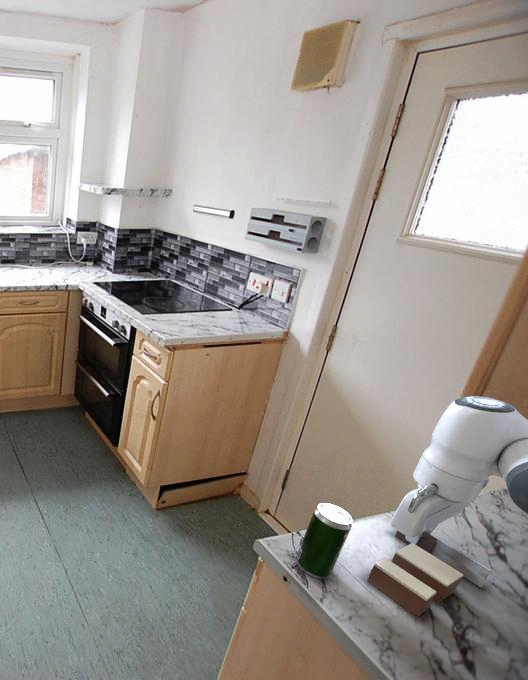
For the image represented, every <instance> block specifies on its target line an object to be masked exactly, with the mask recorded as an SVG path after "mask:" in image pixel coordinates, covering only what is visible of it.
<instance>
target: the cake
mask: <svg viewBox="0 0 528 680" xmlns="http://www.w3.org/2000/svg"><path fill="white" fill-rule="evenodd" d="M390 561H391V562H392V563H394V564H395V565H397V566H398V567H400V568H401V569H403V570H404V571H406V572H407V573H409V574H410V575H412V576H414V577H415V578H417V579H418V580H420V581H421V582H423V583H424V584H426V585H427V586H429V587H430V588H432V589H433V590H435V591H436V594H435V596H434V598H433V600H432V601H434V602H436V603H437V604H439V603H440V602H442V601H443V600H445V599H446V598H448V597H449V596H451V595H452V594H453V593H455V591H456V589H457V588H458V586H459V584H460V583H461V580H462V579H463V578H464V576H463V574H462V573H460V572H459V571H457V570H455V569H454V568H452V567H451V566H449V565H447V564H446V563H444V562H442V561H441V560H439V559H438V558H436V557H434V556H433V555H431V554H430V553H428V552H426V551H425V550H423V549H422V548H420V547H418V546H417V545H415V544H414V543H411V544H409V545H408V544H407V545H406V546H404V547H402V548H400V549H398V550H396V552H395V553H394V555H393V557H392V559H391V560H390Z"/></svg>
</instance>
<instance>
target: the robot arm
mask: <svg viewBox="0 0 528 680" xmlns="http://www.w3.org/2000/svg"><path fill="white" fill-rule="evenodd" d="M492 476H496V477H499V478H502V479H503V480H504V482H505V485H506V488H507V491H508V495H509V497H510V499H511V500H512V502H513V503H514V504H515V506H517V508H518V509H520V510H521V511H522V512H524V513H526V514H527V515H528V418H526V417H525V416H524V415H522V414H521V412H519V411H518V410H517V408H516V407H515V406H514V405H512V404H510V403H508V402H506V401H502V400H499V399H496V398H492V397H486V396H478V395H477V396H475V395H469V396H462V397H458V398H457V399H455V400H453V401H452V402H451V403H450V404H448V406H447V407H446V409H445V410H444V412H443V413H442V415H441V416H440V418H439V420H438V421H437V423H436V425H435V427H434V429H433V431H432V434H431V442H430V444H429V446H428V447H427V448H425V450H424V451H423V452H422V454H421V457H420V458H419V461H418V463H417V465H416V467H415V469H414V471H413V473H412V478H413V479H414V481H415V482H416V483H417V488H415V489H413V490H411V491H409V492H407V494H406V495H405V496H404V497H403V498H402V500H401V502H400V503H399V505H398V507H397V508H396V510H395V512H394V514H393V516H392V518H391V520H390V526H391V527H392V528H393V529H395V530H396V531H397V530H398V531H399V532H401V533H402V534H404V535H406V537H405V538H406V540H407V541H409V542H411V543H414V544H417V543H418V542H420V540H421V538H422V533H423V532H424V531H425V532H427V533H428V534H430V535H432V533H433V531H434V530H435V529H436V528H437V527H438V526H439V525H440V524H441V523H443V522H445V521H447V520H449V519H451V518H453V517H455V516H457V515H459V514H461V513H462V512H463V511H464V510H466V508H467V507H468V506H469V504H470V503H474V502H475V501H476V500H477V499H478V496H479V495H480V494H481V491H482V490H484V488H486V487H487V485H488V483H489V481H490V478H489V477H492Z"/></svg>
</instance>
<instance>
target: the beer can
mask: <svg viewBox="0 0 528 680" xmlns="http://www.w3.org/2000/svg"><path fill="white" fill-rule="evenodd" d="M352 522H353V519H352V516H351V515H350V514H349V513H348V512H347V511H346V510H344V509H343V508H341V507H339V506H337V505H334V504H331V503H326V502H322V503H319V504H318V505H317V507H316V508H315V509H314V510H313V513H312V515H311V518H310V521H309V523H308V526H307V528H306V531H305V534H304V535H303V538H302V541H301V542H300V543H301V544H300V545H299V548H298V551H297V553H296V563H297V566H298V567H299V568H300V570H301V571H303V572H304V573H305V574H306V575H308V576H310V577H312V578H315V579H319V580H324V579H326V578H328V577H330V576H331V575H332V573H333V571H334V569H335V567H336V564H337V561H338V559H339V557H340V555H341V552H342V551H343V548H344V545H345V543H346V541H347V538H348V537H349V534H350V532H351V530H352V527H353V524H352Z"/></svg>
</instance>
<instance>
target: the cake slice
mask: <svg viewBox="0 0 528 680" xmlns="http://www.w3.org/2000/svg"><path fill="white" fill-rule="evenodd" d="M391 561H392V560H390V559H388V558H386V557H382V558H381V559H379V560H377V561H376V562H374V564H373V567H372V568H371V570H370V573H369V574H368V577H367V579H366V581H367V582H368V583H370V584H371V585H372V586H374V587H375V588H377V590H378V591H380V592H382V593H383V594H384V595H386V596H388V597H389V598H390V599H392V600H393V601H394V602H396V603H398V604H399V605H400V606H401V607H402V608H404V609H406V610H407V611H408V612H410V613H411V614H413V615H414V616H416V617H418V618H419V616H421V615H422V614H423V613H425V612H426V611H428V609H429V606H430V605H431V603H432V601H434V600H433V598H434V596H435V594H436V591H435V590H433V589H432V588H430V587H429V586H427V585H426V584H424V583H423V582H421V581H420V580H418V579H417V578H415V577H414V576H412V575H410V574H409V573H407V572H406V571H404V570H403V569H401V568H400V567H398V566H397V565H395V564H394V563H392V562H391Z"/></svg>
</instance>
